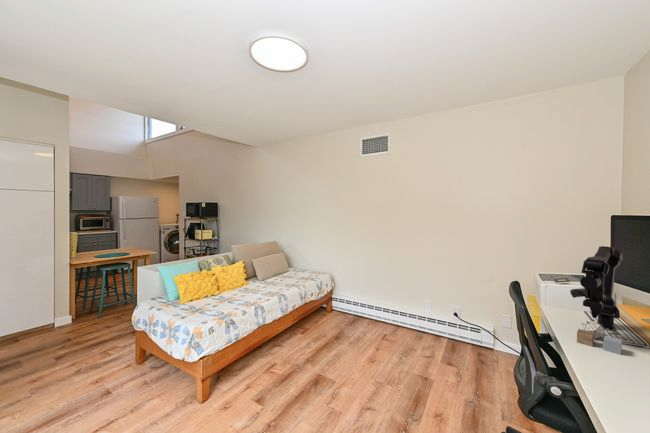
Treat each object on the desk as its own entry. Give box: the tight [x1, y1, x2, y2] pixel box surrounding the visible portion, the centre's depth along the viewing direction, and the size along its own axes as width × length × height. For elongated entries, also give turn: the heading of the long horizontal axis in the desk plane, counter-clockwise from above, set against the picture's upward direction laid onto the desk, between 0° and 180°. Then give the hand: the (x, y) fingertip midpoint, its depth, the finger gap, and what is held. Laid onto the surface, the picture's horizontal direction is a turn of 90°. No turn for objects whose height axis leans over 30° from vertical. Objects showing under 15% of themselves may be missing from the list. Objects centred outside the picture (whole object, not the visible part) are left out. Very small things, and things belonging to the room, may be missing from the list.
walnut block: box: [576, 328, 595, 348], centre depth 120 cm, size 5×5×5 cm
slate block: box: [603, 334, 623, 356], centre depth 114 cm, size 5×5×5 cm
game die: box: [581, 318, 608, 341], centre depth 124 cm, size 9×8×10 cm
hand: (594, 317), depth 124 cm, fingers closed
